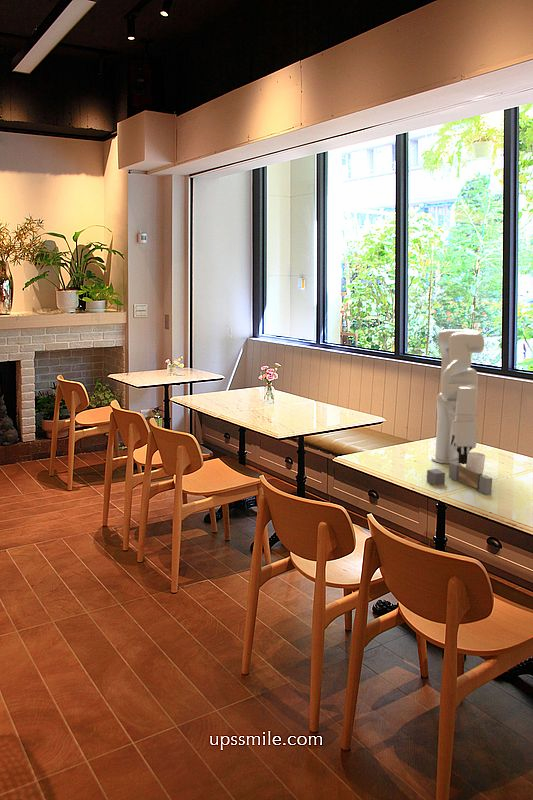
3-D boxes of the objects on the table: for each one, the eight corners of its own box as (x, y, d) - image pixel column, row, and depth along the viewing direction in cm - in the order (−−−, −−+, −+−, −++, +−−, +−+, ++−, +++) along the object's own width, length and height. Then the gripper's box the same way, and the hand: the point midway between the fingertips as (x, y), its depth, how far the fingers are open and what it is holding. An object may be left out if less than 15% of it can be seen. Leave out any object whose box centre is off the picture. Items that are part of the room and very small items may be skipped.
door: (461, 480, 309) (462, 465, 308) (482, 490, 296) (483, 474, 295) (458, 480, 308) (459, 465, 307) (478, 490, 296) (479, 474, 294)
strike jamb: (453, 476, 315) (454, 461, 313) (460, 480, 310) (461, 464, 309) (448, 477, 314) (449, 462, 312) (455, 480, 309) (456, 465, 308)
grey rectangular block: (436, 480, 309) (436, 468, 308) (444, 484, 304) (445, 472, 303) (426, 481, 308) (427, 469, 307) (434, 485, 302) (435, 473, 301)
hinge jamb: (483, 490, 296) (485, 474, 295) (491, 494, 292) (492, 478, 290) (478, 491, 295) (479, 475, 294) (486, 494, 291) (487, 478, 290)
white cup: (461, 475, 317) (463, 452, 315) (479, 474, 318) (481, 452, 316) (468, 480, 309) (469, 457, 307) (486, 480, 310) (488, 457, 308)
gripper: (475, 415, 299) (472, 459, 302) (443, 417, 294) (441, 462, 297) (487, 418, 292) (484, 464, 296) (454, 420, 287) (452, 467, 290)
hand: (462, 463), depth 296 cm, fingers closed
